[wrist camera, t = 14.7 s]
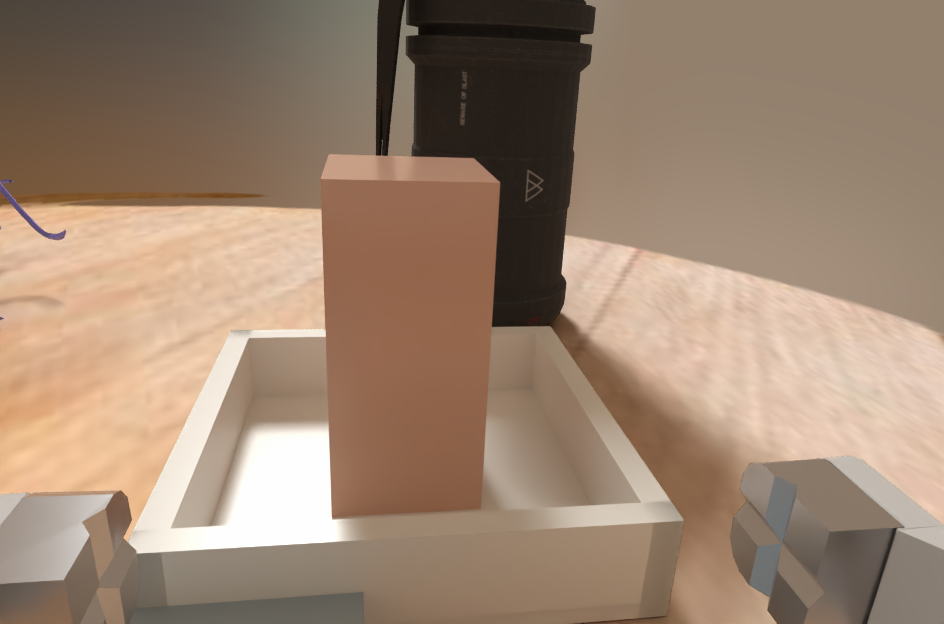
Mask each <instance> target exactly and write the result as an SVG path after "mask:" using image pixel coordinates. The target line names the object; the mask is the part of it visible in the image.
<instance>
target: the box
mask: <svg viewBox="0 0 944 624" xmlns="http://www.w3.org/2000/svg"><path fill="white" fill-rule="evenodd" d="M683 526H684V519H683V518H682V516H681V515H680V514H679V512H678V511H677V509H676V508H675V506H674V505H673V503H672V502H671V501H670V499H669V498H668V496H667V495H666V493H665V492H664V490H663V489H662V487H661V486H660V485H659V483H658V482H657V480H656V479H655V477H654V476H653V474H652V473H651V471H650V470H649V469H648V467H647V466H646V464H645V463H644V461H643V460H642V458H641V457H640V455H639V454H638V453H637V451H636V450H635V448H634V447H633V445H632V444H631V442H630V441H629V439H628V438H627V437H626V435H625V434H624V432H623V431H622V429H621V428H620V426H619V425H618V423H617V422H616V421H615V419H614V418H613V416H612V415H611V413H610V412H609V410H608V409H607V407H606V406H605V405H604V403H603V402H602V400H601V399H600V397H599V396H598V394H597V393H596V392H595V390H594V389H593V387H592V386H591V384H590V383H589V381H588V380H587V378H586V377H585V376H584V374H583V373H582V371H581V370H580V368H579V367H578V365H577V364H576V362H575V361H574V360H573V358H572V357H571V355H570V354H569V352H568V351H567V349H566V348H565V346H564V345H563V344H562V342H561V341H560V339H559V338H558V336H557V335H556V333H555V332H554V330H553V329H552V328H551V326H531V327H492V331H491V348H490V365H489V382H488V399H487V416H486V433H485V450H484V467H483V483H482V500H481V509H474V510H456V511H438V512H420V513H402V514H384V515H366V516H348V517H332V515H331V484H330V453H329V422H328V391H327V361H326V330H325V329H299V330H231V331H230V333H229V335H228V337H227V340H226V342H225V344H224V346H223V348H222V350H221V352H220V354H219V356H218V358H217V360H216V362H215V364H214V366H213V368H212V370H211V372H210V374H209V376H208V379H207V381H206V383H205V385H204V387H203V389H202V391H201V393H200V395H199V397H198V399H197V401H196V403H195V405H194V407H193V409H192V411H191V413H190V415H189V417H188V420H187V422H186V424H185V426H184V428H183V430H182V432H181V434H180V436H179V438H178V440H177V442H176V444H175V446H174V448H173V450H172V452H171V454H170V456H169V459H168V461H167V463H166V465H165V467H164V469H163V471H162V473H161V475H160V477H159V479H158V481H157V483H156V485H155V487H154V489H153V491H152V493H151V495H150V497H149V500H148V502H147V504H146V506H145V508H144V510H143V512H142V514H141V516H140V518H139V520H138V522H137V524H136V526H135V528H134V530H133V532H132V534H131V536H130V539H129V541H128V543H129V544H130V545H131V546H132V547H133V548H134V549H135V550H136V551H137V558H138V565H139V588H138V593H137V599H136V604H135V608H148V607H162V606H176V605H190V604H203V603H217V602H231V601H245V600H259V599H273V598H287V597H301V596H315V595H329V594H343V593H357V592H363V599H364V624H574V623H586V622H598V621H610V620H622V619H634V618H646V617H659V616H667V612H668V607H669V601H670V596H671V591H672V585H673V580H674V574H675V569H676V564H677V558H678V553H679V547H680V542H681V536H682V531H683Z"/></svg>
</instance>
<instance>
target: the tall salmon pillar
mask: <svg viewBox="0 0 944 624" xmlns="http://www.w3.org/2000/svg"><path fill="white" fill-rule="evenodd" d="M499 196H500V182H499V181H498V180H497V179H496V178H495V177H494V176H493V175H491V174H490V173H489V172H488V171H487V170H486V169H485V168H484V167H483V166H482V165H481V164H480V163H479V162H477V161H476V160H475V159H474V158H449V157H410V156H409V157H407V156H370V155H331V154H330V155H329V157H328V159H327V162H326V165H325V168H324V171H323V174H322V177H321V206H322V237H323V268H324V299H325V330H326V361H327V391H328V422H329V453H330V484H331V515H332V517H348V516H366V515H384V514H402V513H420V512H438V511H456V510H474V509H481V500H482V483H483V467H484V450H485V433H486V416H487V399H488V382H489V365H490V348H491V331H492V314H493V297H494V280H495V263H496V246H497V229H498V213H499Z"/></svg>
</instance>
